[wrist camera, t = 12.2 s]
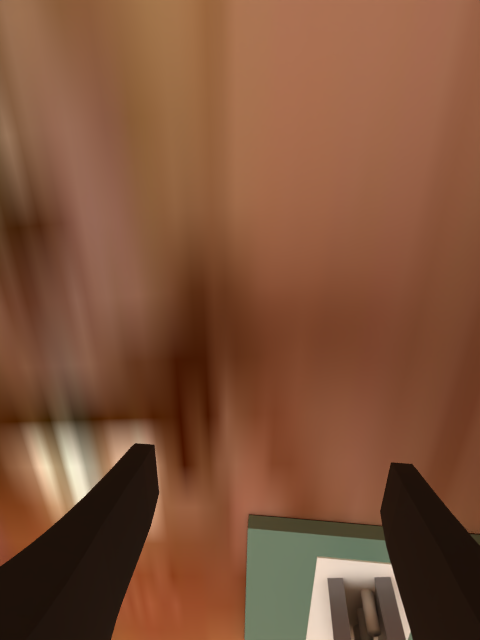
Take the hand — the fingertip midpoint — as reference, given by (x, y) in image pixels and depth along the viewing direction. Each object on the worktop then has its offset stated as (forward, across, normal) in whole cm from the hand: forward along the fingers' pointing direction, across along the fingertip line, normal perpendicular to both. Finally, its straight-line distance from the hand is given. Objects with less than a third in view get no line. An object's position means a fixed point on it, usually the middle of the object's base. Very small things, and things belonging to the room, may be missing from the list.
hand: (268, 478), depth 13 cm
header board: (+9, -7, +20) cm, 23 cm away
